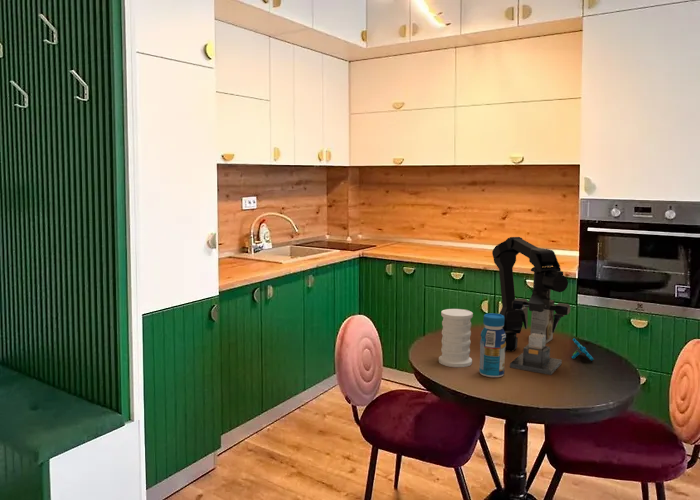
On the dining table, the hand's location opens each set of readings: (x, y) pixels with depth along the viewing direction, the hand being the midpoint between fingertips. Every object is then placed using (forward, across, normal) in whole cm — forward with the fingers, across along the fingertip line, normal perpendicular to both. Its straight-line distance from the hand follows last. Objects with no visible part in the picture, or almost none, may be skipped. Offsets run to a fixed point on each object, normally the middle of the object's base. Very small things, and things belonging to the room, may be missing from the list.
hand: (539, 330), depth 215 cm
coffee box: (+13, -6, +33) cm, 36 cm away
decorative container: (+13, -26, -12) cm, 31 cm away
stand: (+12, 0, 0) cm, 13 cm away
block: (+11, 0, 0) cm, 11 cm away
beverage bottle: (+13, -11, -17) cm, 24 cm away
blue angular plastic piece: (+13, +12, +16) cm, 24 cm away
